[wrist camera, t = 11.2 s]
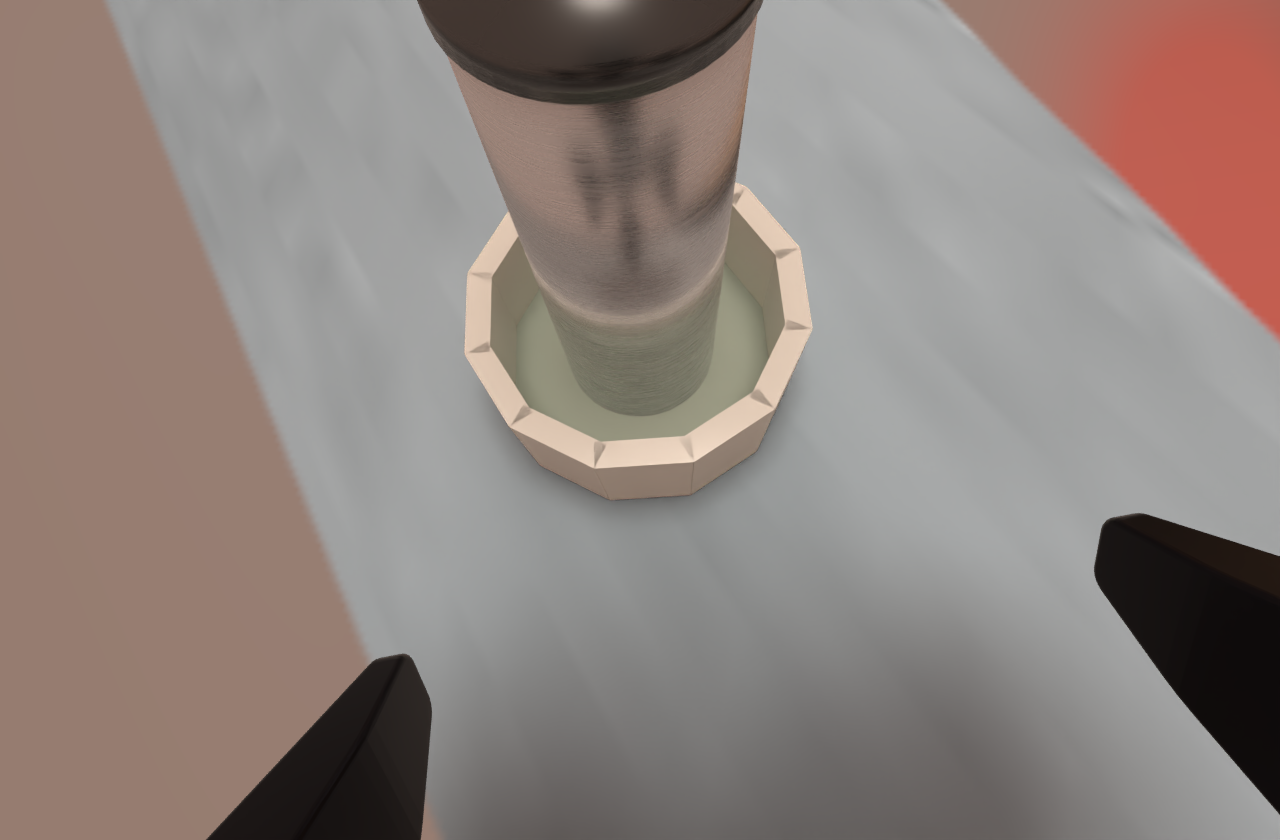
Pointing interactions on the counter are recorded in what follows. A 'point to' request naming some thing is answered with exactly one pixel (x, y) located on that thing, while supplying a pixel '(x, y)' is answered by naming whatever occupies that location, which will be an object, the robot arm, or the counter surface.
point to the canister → (613, 170)
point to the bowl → (658, 444)
